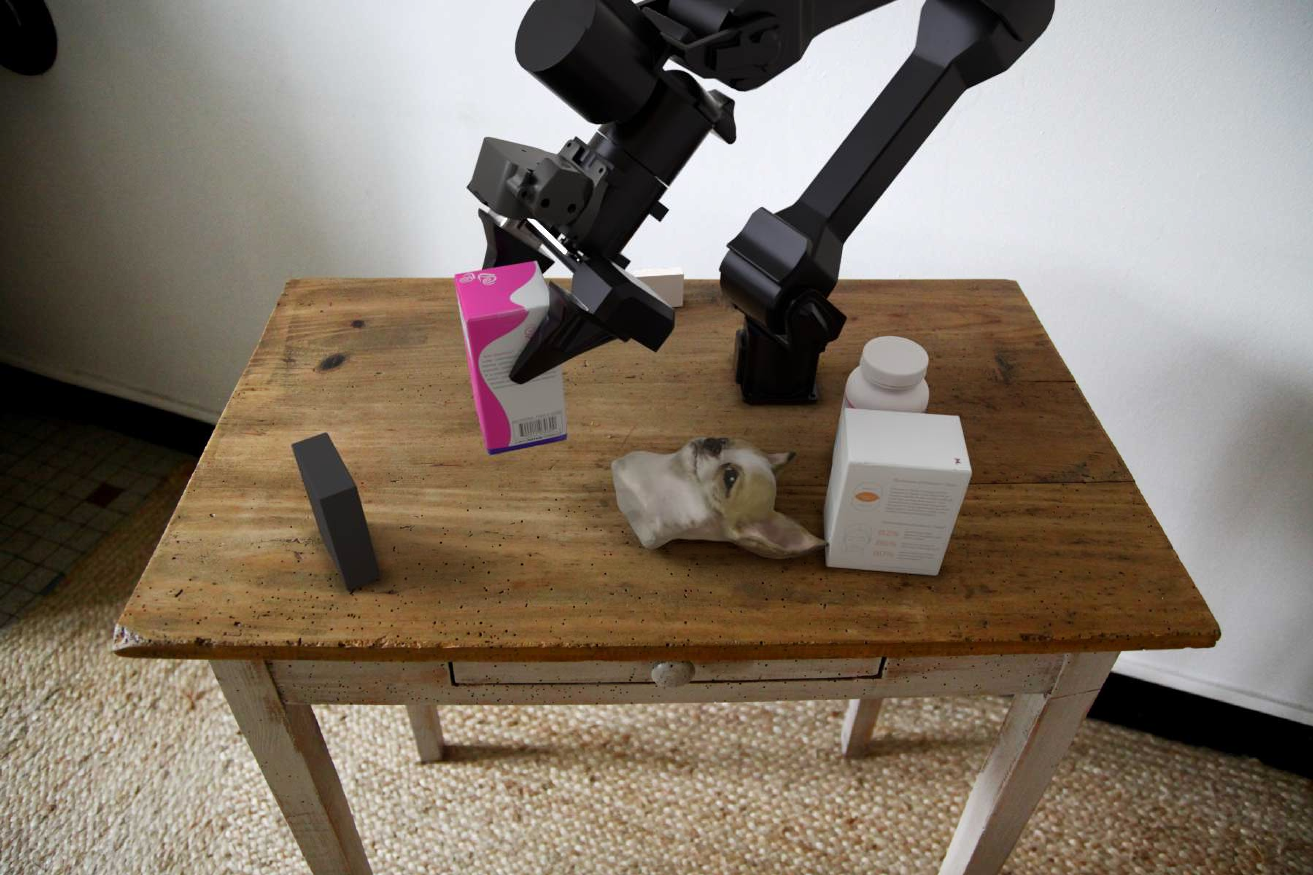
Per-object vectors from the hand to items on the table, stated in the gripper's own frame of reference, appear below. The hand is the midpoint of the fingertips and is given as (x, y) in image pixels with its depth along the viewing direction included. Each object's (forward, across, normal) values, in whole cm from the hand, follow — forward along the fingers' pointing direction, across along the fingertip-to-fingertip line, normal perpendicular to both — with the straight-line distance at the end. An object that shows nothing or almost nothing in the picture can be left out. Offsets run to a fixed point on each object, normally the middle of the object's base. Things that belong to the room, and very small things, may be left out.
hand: (491, 354), depth 62 cm
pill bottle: (-8, +12, +28) cm, 31 cm away
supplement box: (+4, 0, +6) cm, 7 cm away
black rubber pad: (+18, 0, 0) cm, 18 cm away
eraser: (-7, -16, +26) cm, 31 cm away
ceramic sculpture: (+2, +11, +17) cm, 21 cm away
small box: (-5, +19, +24) cm, 31 cm away
